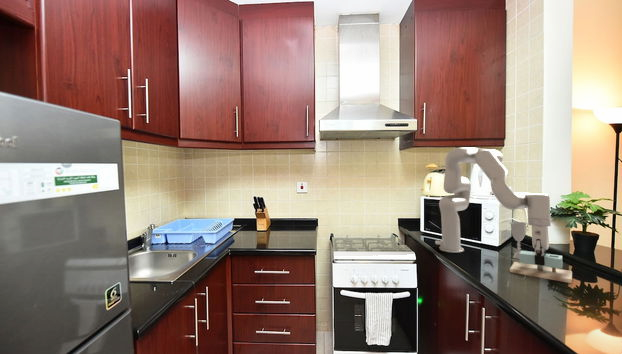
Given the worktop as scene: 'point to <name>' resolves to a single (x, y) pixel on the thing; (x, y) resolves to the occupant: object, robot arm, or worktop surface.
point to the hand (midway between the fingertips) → (540, 262)
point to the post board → (542, 272)
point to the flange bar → (549, 259)
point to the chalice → (518, 234)
